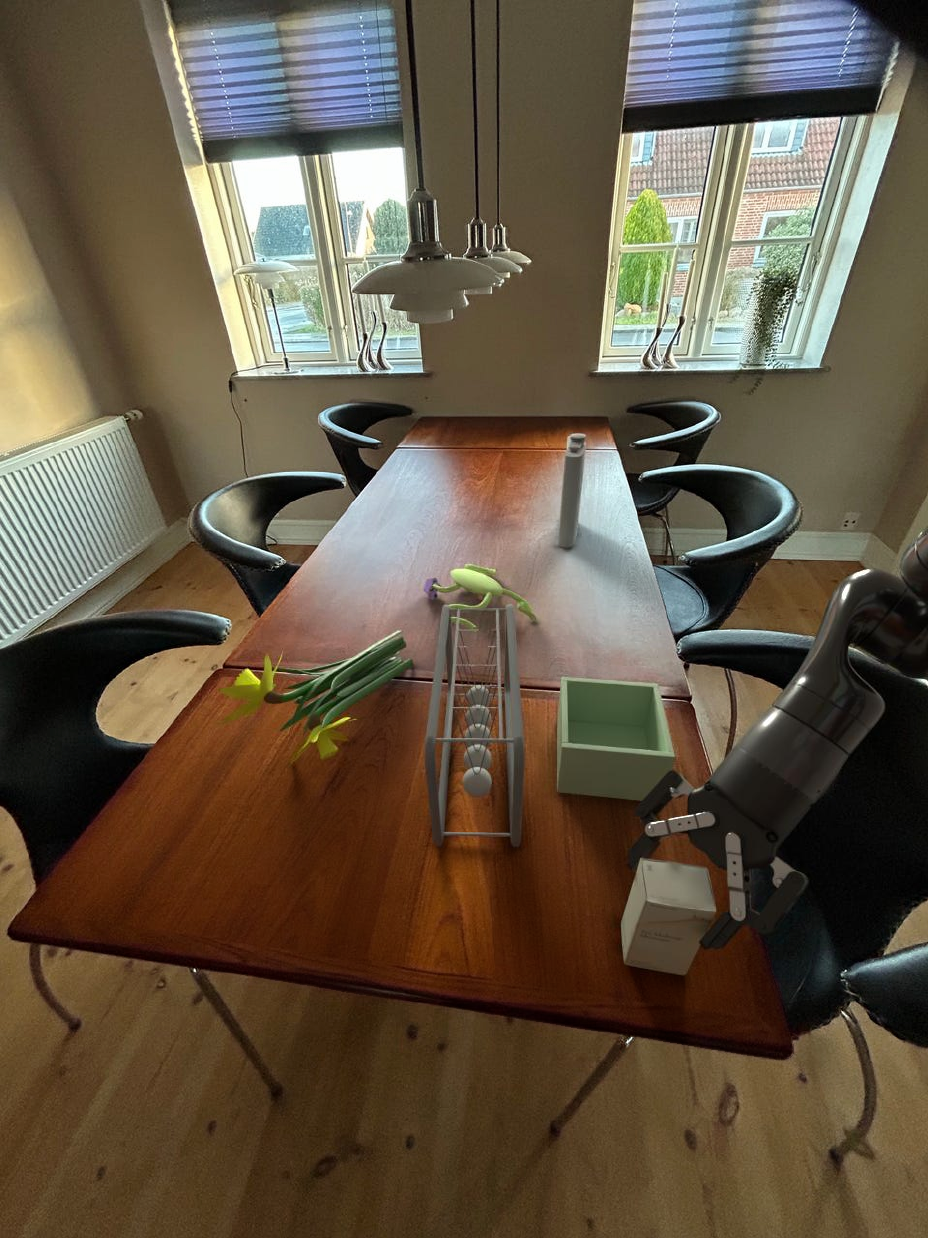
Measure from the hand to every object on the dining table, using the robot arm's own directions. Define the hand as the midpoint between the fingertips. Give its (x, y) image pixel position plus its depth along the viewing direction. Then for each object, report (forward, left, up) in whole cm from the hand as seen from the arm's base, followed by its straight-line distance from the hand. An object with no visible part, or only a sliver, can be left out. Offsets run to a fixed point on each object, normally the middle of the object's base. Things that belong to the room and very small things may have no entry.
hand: (666, 905), depth 50 cm
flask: (+81, -60, -9) cm, 101 cm away
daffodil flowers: (+51, +14, -9) cm, 54 cm away
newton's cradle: (+31, +1, -9) cm, 32 cm away
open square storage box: (+21, -14, -9) cm, 27 cm away
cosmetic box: (0, 0, -9) cm, 9 cm away
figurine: (+65, -21, -9) cm, 69 cm away
